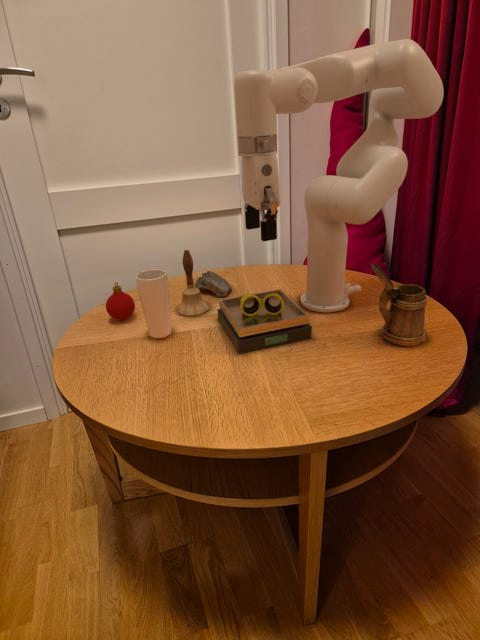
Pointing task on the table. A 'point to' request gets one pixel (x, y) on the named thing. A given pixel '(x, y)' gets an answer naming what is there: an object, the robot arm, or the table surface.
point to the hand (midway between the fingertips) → (260, 234)
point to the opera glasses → (257, 304)
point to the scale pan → (262, 314)
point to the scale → (264, 336)
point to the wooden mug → (402, 311)
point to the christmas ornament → (120, 304)
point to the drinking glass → (155, 301)
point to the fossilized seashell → (213, 284)
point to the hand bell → (191, 292)
